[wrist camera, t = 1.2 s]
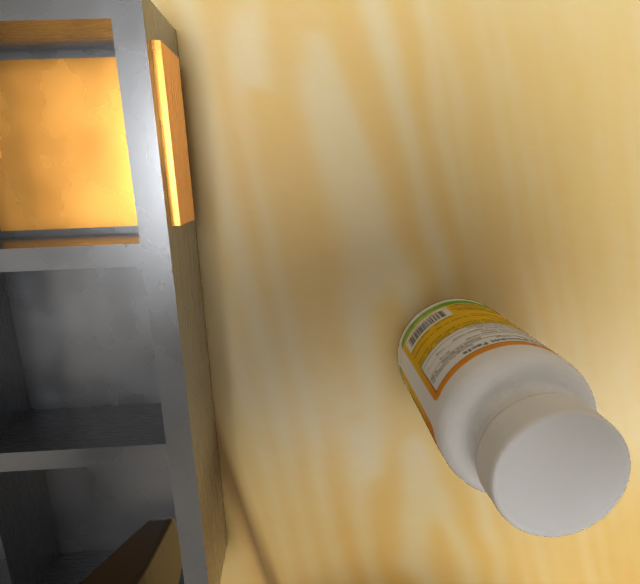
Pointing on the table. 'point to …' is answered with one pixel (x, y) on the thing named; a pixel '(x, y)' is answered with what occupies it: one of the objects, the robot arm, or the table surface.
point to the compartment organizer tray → (99, 296)
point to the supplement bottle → (513, 418)
